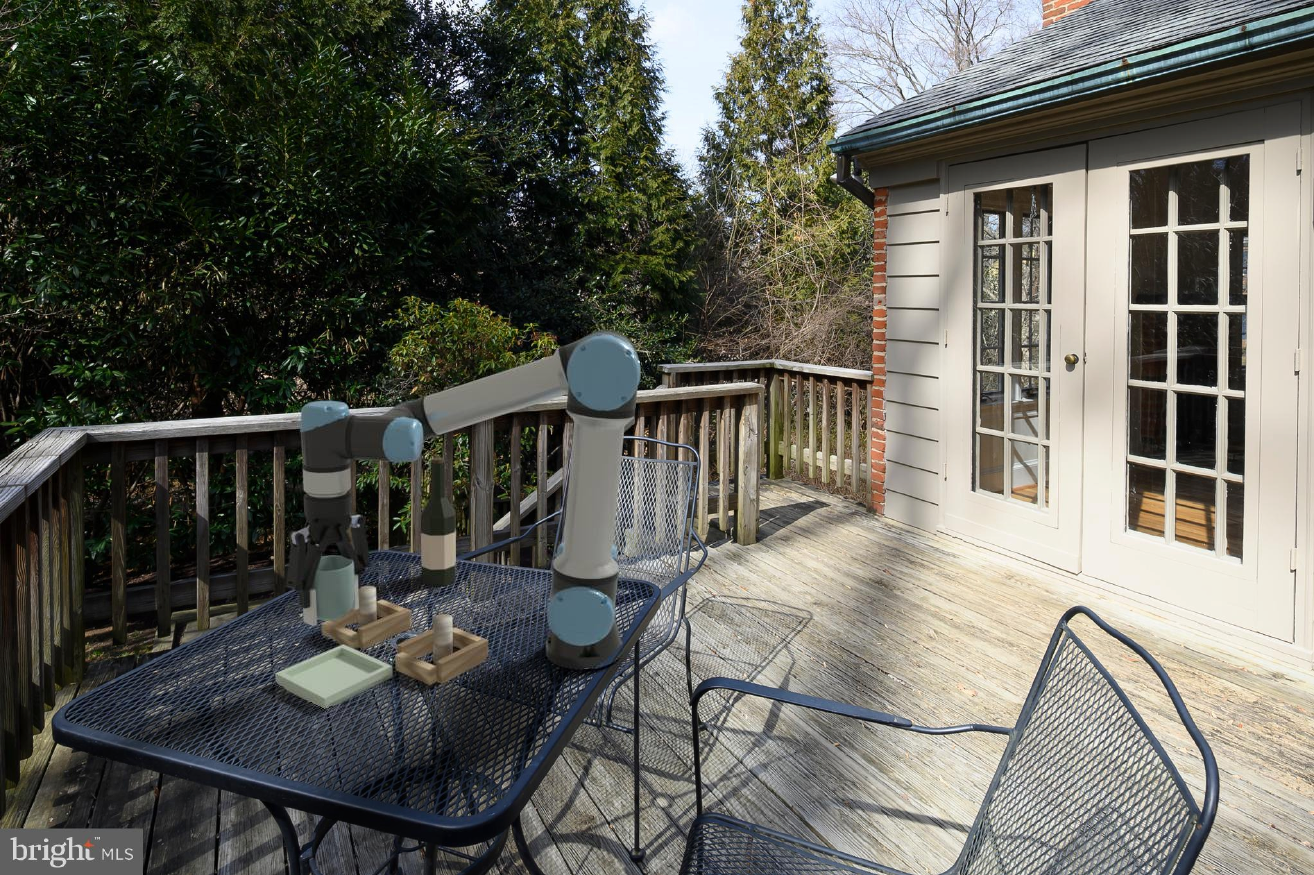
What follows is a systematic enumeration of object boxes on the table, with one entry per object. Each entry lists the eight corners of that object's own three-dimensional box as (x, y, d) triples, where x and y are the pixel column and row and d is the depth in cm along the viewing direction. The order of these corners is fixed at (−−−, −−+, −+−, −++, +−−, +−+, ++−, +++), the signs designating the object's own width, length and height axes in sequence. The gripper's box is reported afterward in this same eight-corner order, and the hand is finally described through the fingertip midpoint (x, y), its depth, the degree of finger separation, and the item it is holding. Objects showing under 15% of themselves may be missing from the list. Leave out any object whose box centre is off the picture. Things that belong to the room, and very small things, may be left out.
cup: (297, 619, 139) (295, 566, 137) (331, 603, 146) (329, 552, 144) (332, 629, 136) (330, 574, 134) (364, 612, 144) (363, 560, 141)
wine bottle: (447, 588, 187) (446, 464, 180) (414, 584, 188) (412, 461, 182) (462, 575, 195) (462, 456, 188) (431, 571, 196) (429, 453, 190)
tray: (392, 677, 146) (392, 666, 146) (325, 710, 135) (324, 698, 134) (343, 654, 153) (343, 644, 153) (275, 684, 142) (275, 673, 141)
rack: (493, 656, 156) (493, 613, 154) (435, 687, 143) (434, 641, 141) (378, 610, 173) (377, 571, 171) (317, 635, 161) (315, 593, 159)
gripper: (363, 476, 147) (366, 591, 152) (257, 500, 130) (264, 629, 135) (391, 483, 143) (393, 601, 148) (285, 509, 126) (291, 642, 131)
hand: (331, 614), depth 141 cm, fingers closed on cup, 8 cm apart
